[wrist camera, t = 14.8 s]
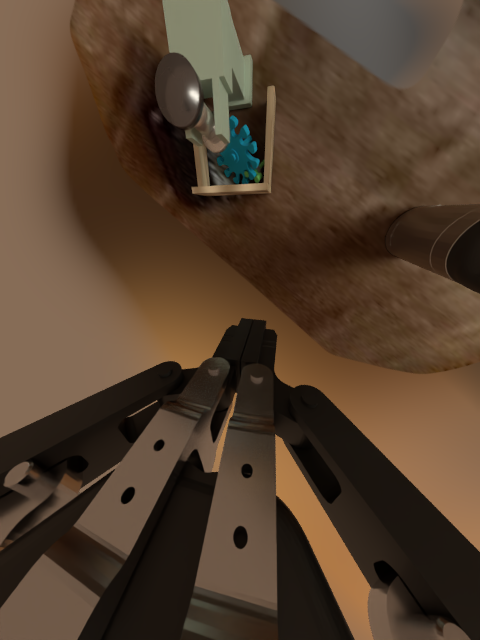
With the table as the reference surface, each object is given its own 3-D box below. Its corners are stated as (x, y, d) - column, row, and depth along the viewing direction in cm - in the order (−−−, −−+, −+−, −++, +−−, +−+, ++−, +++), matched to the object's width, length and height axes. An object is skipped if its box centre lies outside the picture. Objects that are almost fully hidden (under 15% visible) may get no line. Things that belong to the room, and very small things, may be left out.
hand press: (252, 61, 28) (217, -83, 14) (251, 164, 35) (226, 133, 21) (217, 68, 30) (154, -59, 16) (223, 166, 36) (181, 138, 22)
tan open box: (275, 99, 30) (272, 72, 24) (270, 193, 37) (267, 189, 31) (198, 111, 33) (178, 90, 27) (206, 196, 40) (192, 193, 34)
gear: (205, 156, 35) (218, 100, 26) (222, 138, 36) (240, 78, 27) (245, 201, 39) (269, 166, 29) (259, 183, 40) (287, 144, 30)
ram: (231, 110, 24) (194, 47, 15) (232, 153, 26) (201, 122, 17) (201, 114, 25) (149, 57, 16) (205, 156, 27) (161, 128, 18)
